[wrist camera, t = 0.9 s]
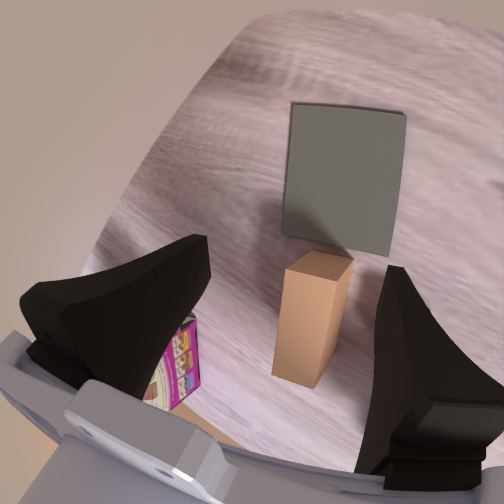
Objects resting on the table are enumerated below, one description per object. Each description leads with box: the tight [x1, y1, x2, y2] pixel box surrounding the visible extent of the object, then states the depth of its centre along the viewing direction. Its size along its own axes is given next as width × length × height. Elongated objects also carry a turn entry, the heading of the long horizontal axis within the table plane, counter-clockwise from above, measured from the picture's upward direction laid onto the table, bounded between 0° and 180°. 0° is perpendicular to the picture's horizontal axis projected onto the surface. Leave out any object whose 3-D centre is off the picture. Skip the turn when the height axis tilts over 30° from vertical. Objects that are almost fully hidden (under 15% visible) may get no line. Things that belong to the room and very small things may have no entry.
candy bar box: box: [142, 315, 200, 412], centre depth 34 cm, size 11×5×16 cm, turn 178°
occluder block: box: [271, 250, 354, 389], centre depth 27 cm, size 10×4×6 cm, turn 175°
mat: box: [281, 105, 407, 257], centre depth 26 cm, size 12×10×1 cm
